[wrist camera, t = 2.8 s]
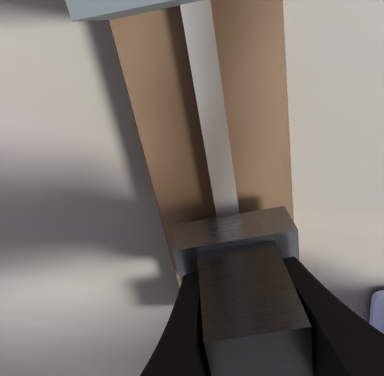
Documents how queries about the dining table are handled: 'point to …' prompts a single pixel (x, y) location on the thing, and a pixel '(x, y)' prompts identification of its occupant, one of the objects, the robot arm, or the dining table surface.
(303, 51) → the dining table surface
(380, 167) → the dining table surface
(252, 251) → the block
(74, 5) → the cabinet
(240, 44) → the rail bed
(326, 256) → the dining table surface
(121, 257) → the dining table surface
